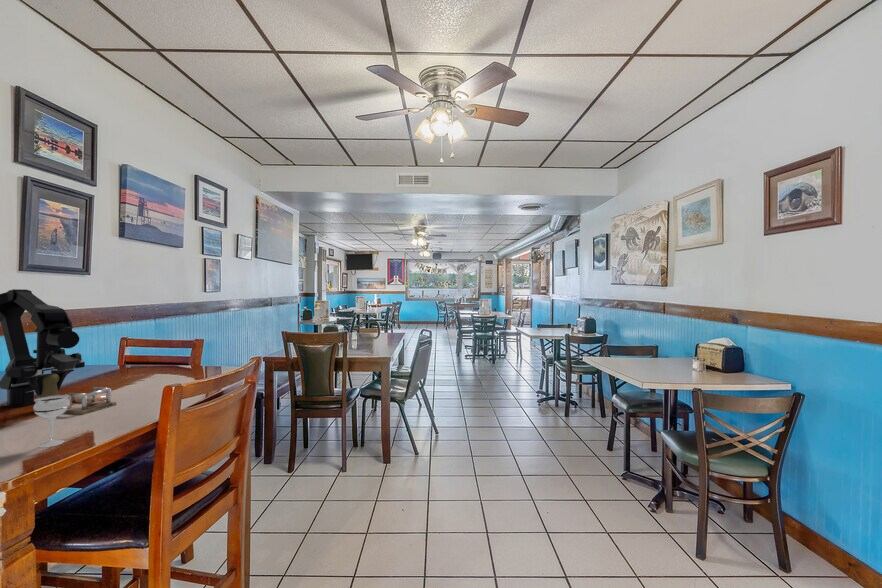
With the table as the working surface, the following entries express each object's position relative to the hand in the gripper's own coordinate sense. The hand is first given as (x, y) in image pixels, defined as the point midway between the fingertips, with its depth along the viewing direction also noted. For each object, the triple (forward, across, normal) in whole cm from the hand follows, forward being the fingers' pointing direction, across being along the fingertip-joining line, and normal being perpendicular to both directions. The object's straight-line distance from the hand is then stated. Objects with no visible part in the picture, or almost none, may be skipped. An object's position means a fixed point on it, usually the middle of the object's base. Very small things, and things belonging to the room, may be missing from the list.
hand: (47, 393), depth 128 cm
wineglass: (+6, -23, -32) cm, 40 cm away
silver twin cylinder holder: (+5, +4, -11) cm, 13 cm away
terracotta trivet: (+5, +14, -1) cm, 15 cm away
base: (+5, +4, -11) cm, 13 cm away
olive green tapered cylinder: (+5, 0, 0) cm, 5 cm away
